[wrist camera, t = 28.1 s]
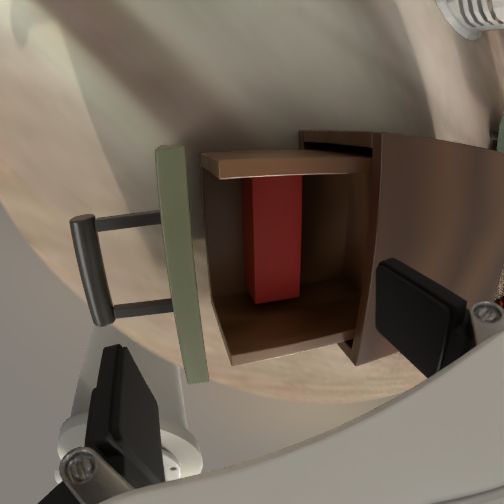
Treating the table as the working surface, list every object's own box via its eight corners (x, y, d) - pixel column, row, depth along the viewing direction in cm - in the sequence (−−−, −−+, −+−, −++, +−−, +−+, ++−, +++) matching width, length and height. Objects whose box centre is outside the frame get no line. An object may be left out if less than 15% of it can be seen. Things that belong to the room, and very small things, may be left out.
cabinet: (296, 295, 26) (355, 367, 17) (298, 130, 21) (382, 132, 13) (423, 270, 29) (490, 312, 21) (436, 142, 25) (519, 156, 16)
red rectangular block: (241, 170, 19) (251, 174, 17) (286, 168, 20) (302, 172, 18) (245, 286, 22) (255, 304, 20) (285, 280, 23) (299, 297, 20)
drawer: (114, 320, 22) (101, 393, 14) (85, 155, 17) (40, 167, 10) (342, 286, 26) (397, 336, 19) (350, 140, 22) (424, 148, 14)
